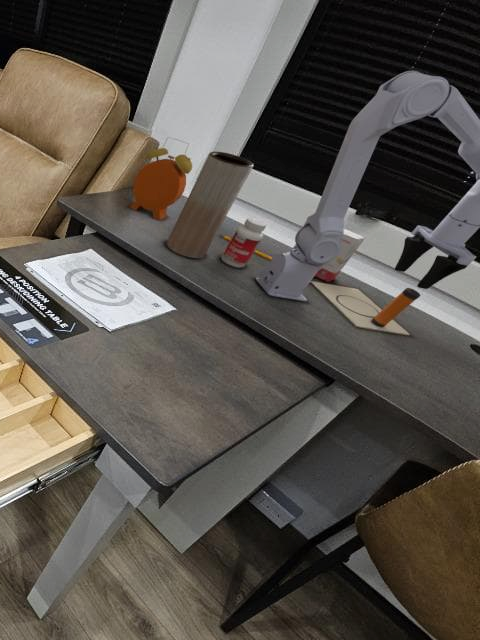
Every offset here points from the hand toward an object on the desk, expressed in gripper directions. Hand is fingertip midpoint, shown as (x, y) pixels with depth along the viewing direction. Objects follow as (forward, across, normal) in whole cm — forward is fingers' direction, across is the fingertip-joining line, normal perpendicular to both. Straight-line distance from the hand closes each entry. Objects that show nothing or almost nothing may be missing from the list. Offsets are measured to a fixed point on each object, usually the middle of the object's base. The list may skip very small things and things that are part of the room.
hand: (410, 278), depth 101 cm
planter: (+10, +19, +42) cm, 47 cm away
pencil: (+10, +26, +20) cm, 34 cm away
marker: (+9, -5, +4) cm, 11 cm away
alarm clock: (+10, +43, +46) cm, 64 cm away
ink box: (+10, +18, +6) cm, 22 cm away
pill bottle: (+10, +16, +30) cm, 35 cm away
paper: (+10, +2, +4) cm, 11 cm away
